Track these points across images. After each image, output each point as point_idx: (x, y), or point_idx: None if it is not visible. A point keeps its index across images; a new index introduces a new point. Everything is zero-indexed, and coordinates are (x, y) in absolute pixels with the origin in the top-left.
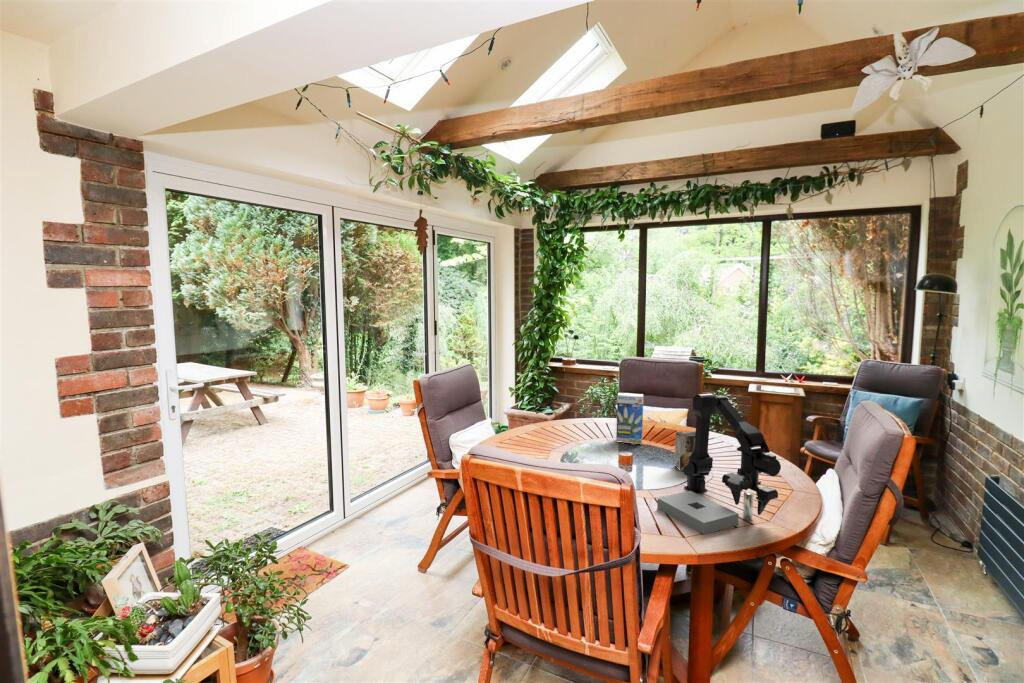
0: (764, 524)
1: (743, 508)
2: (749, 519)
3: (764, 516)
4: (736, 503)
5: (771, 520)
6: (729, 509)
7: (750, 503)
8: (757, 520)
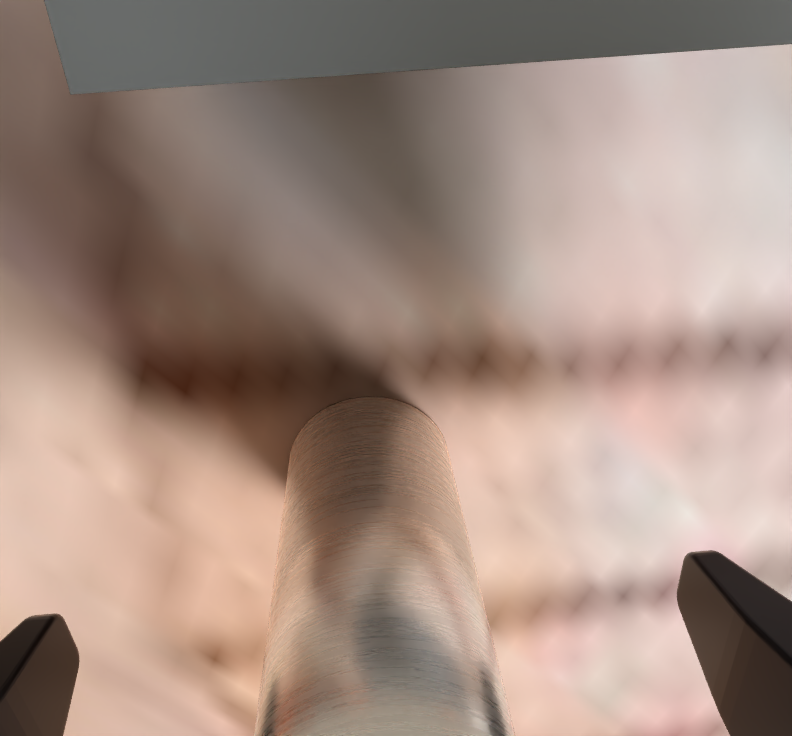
0: (87, 545)
1: (430, 547)
2: (294, 453)
3: None
4: (702, 578)
5: (190, 695)
6: (518, 37)
7: None
8: (250, 548)
